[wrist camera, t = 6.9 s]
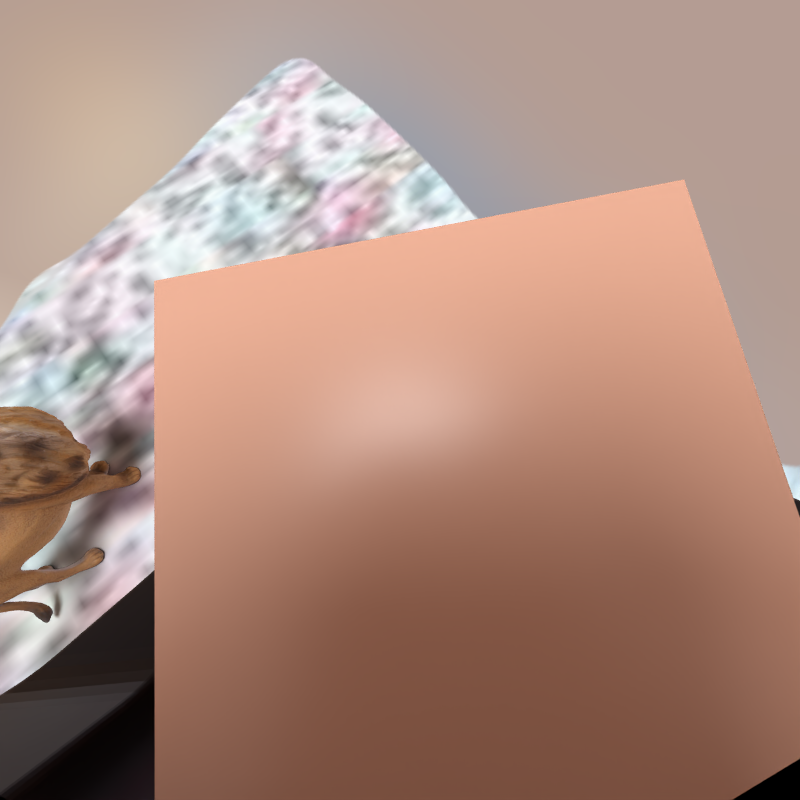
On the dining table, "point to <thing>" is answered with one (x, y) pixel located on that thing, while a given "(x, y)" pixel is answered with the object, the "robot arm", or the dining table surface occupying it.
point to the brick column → (472, 521)
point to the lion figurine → (42, 498)
